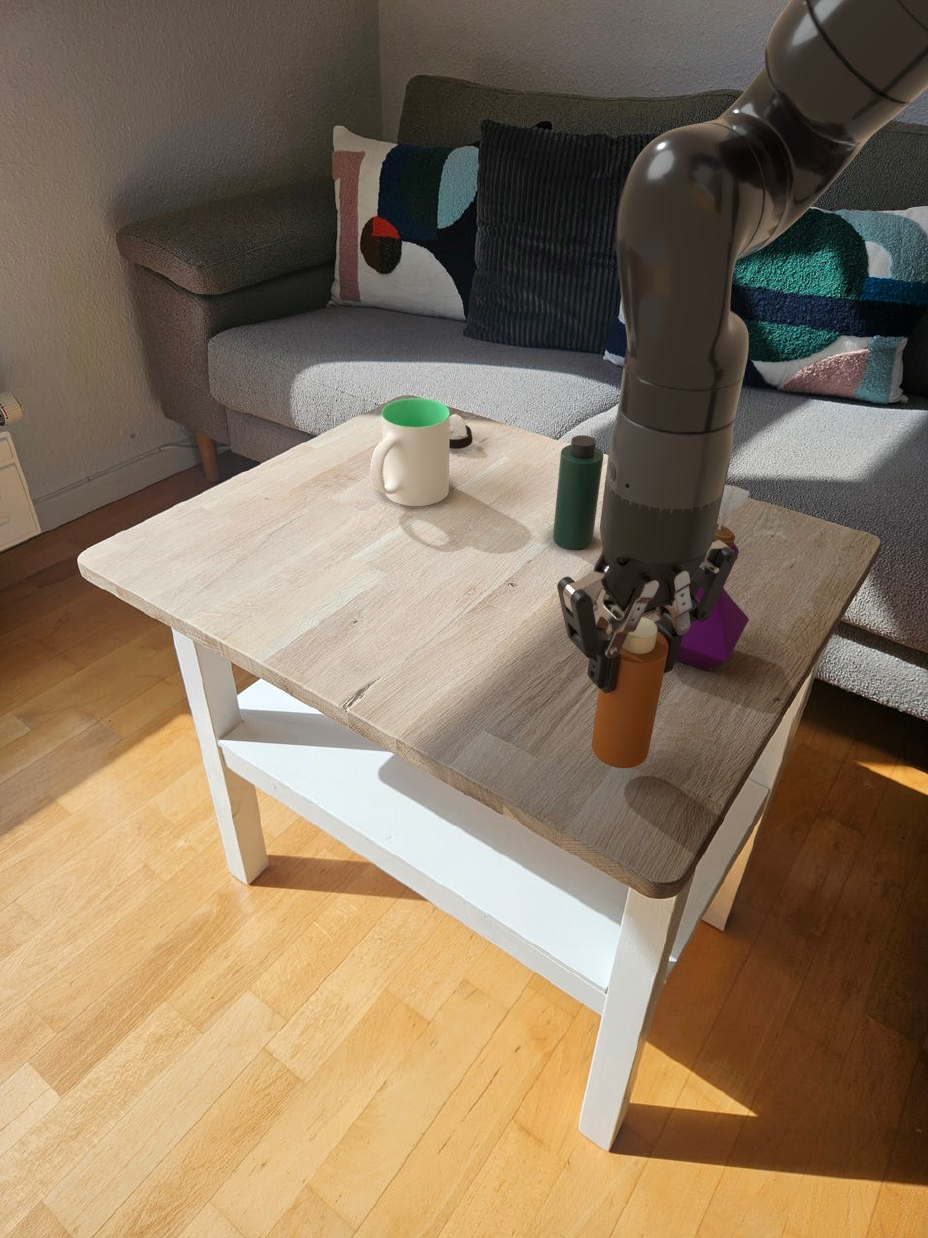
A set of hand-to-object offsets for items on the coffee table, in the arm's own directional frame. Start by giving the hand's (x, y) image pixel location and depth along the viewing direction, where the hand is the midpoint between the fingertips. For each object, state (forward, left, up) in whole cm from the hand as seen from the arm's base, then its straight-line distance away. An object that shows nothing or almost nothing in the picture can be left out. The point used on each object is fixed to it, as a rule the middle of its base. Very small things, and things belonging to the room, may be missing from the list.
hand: (632, 674), depth 66 cm
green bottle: (-3, -36, -11) cm, 37 cm away
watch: (+10, -61, -11) cm, 63 cm away
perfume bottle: (-11, -15, -11) cm, 21 cm away
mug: (+16, -46, -11) cm, 50 cm away
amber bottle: (0, 0, -8) cm, 8 cm away
